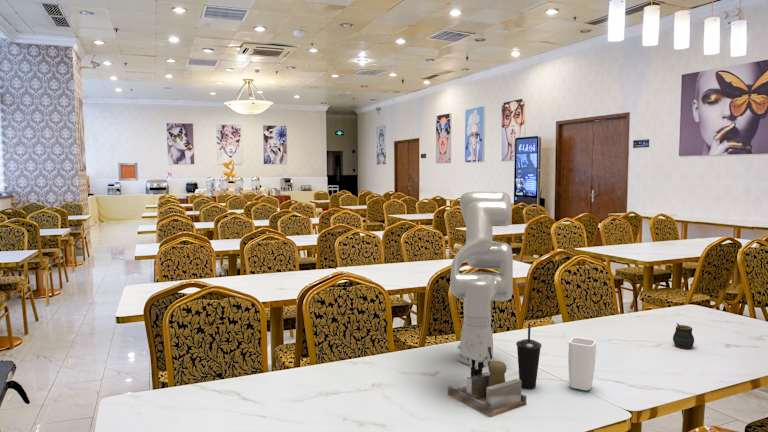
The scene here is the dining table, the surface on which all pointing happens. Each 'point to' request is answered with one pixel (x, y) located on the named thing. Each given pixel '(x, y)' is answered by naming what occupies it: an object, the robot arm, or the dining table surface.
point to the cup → (581, 363)
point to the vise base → (493, 397)
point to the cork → (496, 372)
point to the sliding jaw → (478, 385)
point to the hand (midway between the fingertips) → (476, 380)
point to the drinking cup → (528, 361)
